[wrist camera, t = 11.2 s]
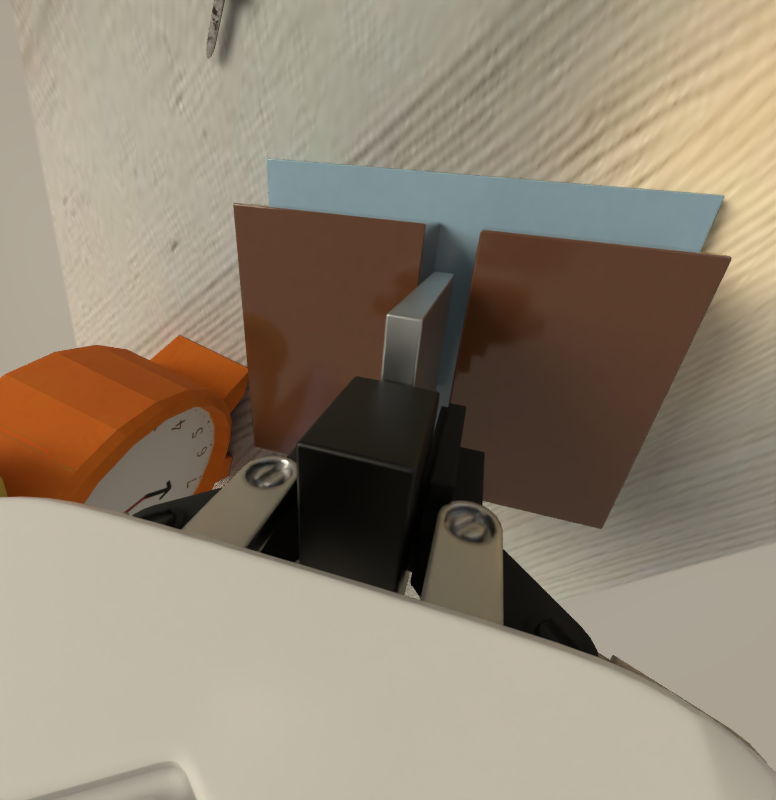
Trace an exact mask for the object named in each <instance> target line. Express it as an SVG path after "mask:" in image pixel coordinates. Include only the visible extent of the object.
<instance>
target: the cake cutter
mask: <svg viewBox="0 0 776 800" xmlns="http://www.w3.org/2000/svg"><path fill="white" fill-rule="evenodd" d="M453 283H454V274H449V273H441V272H433V273H432V274H431V275H430V276H429V277H428V278H427V279H425V280H424V281H423V282H422V283H421V284H420V285H419V286H418V287H417V288H415V289H414V290H413V291H412V292H411V293H410V294H409V295H408V296H406V297H405V298H404V299H403V300H402V301H401V302H400V303H399V304H397V305H396V306H395V307H394V308H393V309H392V310H391V311H390V312H388V313H387V315H386V323H385V334H384V346H383V357H382V368H381V380H375V379H370V378H364V377H359V376H356V377H354V378H353V379H352V380H351V381H350V383H349V384H348V385H347V386H346V387H345V388H344V389H343V390H342V392H341V393H340V394H339V395H338V396H337V397H336V398H335V400H334V401H333V402H332V403H331V404H330V405H329V406H328V407H327V409H326V410H325V411H324V412H323V413H322V414H321V415H320V417H319V418H318V419H317V420H316V421H315V422H314V423H313V425H312V426H311V427H310V428H309V429H308V430H307V431H306V432H305V434H304V435H303V436H302V437H301V438H300V439H299V440H298V442H297V444H296V463H297V500H298V536H299V564H300V565H304V566H307V567H311V568H314V569H317V570H321V571H324V572H328V573H331V574H334V575H338V576H341V577H344V578H348V579H351V580H355V581H358V582H361V583H365V584H368V585H372V586H375V587H378V588H381V589H385V590H388V591H391V592H395V593H398V594H401V595H405V590H406V586H407V582H408V578H409V573H410V571H407V568H408V562H409V556H410V550H411V544H412V538H413V532H414V526H415V520H416V514H417V508H418V502H419V496H420V490H421V484H422V480H423V475H424V472H425V468H426V464H427V461H428V457H429V454H430V450H431V445H432V439H433V433H434V427H435V421H436V416H437V410H438V404H439V398H440V394H439V392H437V391H436V386H437V380H438V374H439V368H440V362H441V356H442V349H443V343H444V337H445V331H446V325H447V319H448V313H449V307H450V301H451V295H452V289H453Z"/></svg>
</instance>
